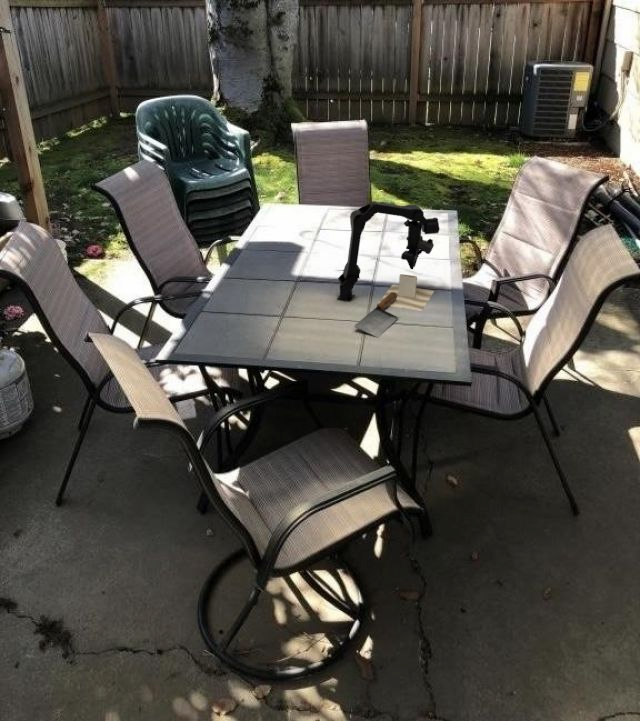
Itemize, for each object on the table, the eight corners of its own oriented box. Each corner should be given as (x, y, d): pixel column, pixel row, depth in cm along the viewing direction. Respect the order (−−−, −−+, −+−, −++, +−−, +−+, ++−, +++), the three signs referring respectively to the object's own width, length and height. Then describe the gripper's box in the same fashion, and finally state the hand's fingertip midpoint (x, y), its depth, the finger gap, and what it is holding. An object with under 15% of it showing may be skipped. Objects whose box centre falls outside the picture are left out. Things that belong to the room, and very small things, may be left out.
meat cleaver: (378, 337, 265) (378, 328, 263) (353, 330, 270) (353, 322, 268) (413, 303, 289) (413, 295, 287) (390, 298, 294) (390, 290, 292)
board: (421, 313, 283) (421, 311, 282) (377, 306, 290) (377, 304, 289) (434, 292, 300) (434, 290, 299) (392, 286, 307) (392, 284, 306)
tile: (414, 298, 293) (415, 277, 288) (398, 295, 296) (399, 275, 290) (415, 296, 294) (416, 276, 289) (399, 294, 297) (400, 274, 292)
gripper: (427, 244, 277) (424, 278, 285) (437, 229, 291) (435, 262, 299) (401, 241, 281) (400, 274, 289) (413, 227, 295) (411, 259, 303)
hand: (412, 267), depth 295 cm, fingers open, 3 cm apart
